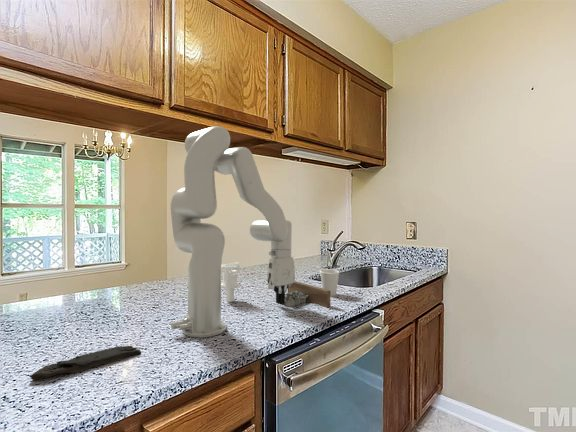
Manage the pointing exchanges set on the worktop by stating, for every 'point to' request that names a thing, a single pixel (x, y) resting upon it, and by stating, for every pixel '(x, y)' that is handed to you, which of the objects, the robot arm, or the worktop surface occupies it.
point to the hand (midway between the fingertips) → (280, 303)
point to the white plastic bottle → (230, 280)
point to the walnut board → (312, 293)
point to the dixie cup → (330, 280)
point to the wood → (86, 361)
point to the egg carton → (294, 298)
